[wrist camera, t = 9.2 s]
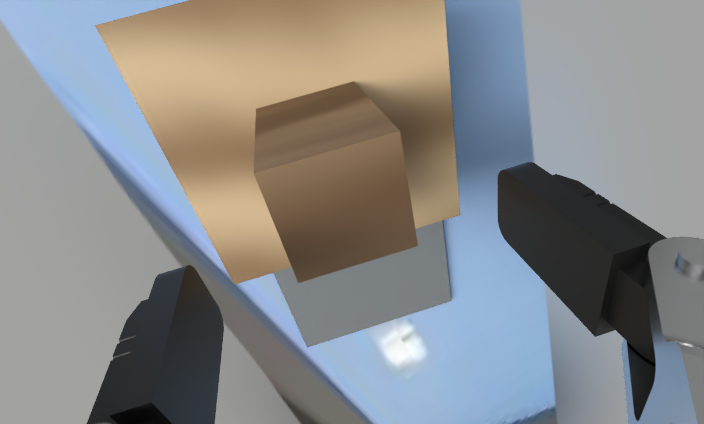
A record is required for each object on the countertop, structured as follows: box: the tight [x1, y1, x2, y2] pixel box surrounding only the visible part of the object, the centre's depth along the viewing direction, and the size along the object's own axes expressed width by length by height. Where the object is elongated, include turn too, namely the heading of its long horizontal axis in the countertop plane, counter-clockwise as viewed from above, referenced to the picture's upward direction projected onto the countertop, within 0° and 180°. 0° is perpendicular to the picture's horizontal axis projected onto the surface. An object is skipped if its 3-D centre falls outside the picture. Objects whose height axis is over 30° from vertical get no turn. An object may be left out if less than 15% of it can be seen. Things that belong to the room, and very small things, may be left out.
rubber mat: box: [273, 221, 451, 347], centre depth 32 cm, size 14×14×1 cm
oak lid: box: [95, 0, 460, 284], centre depth 14 cm, size 12×12×7 cm
